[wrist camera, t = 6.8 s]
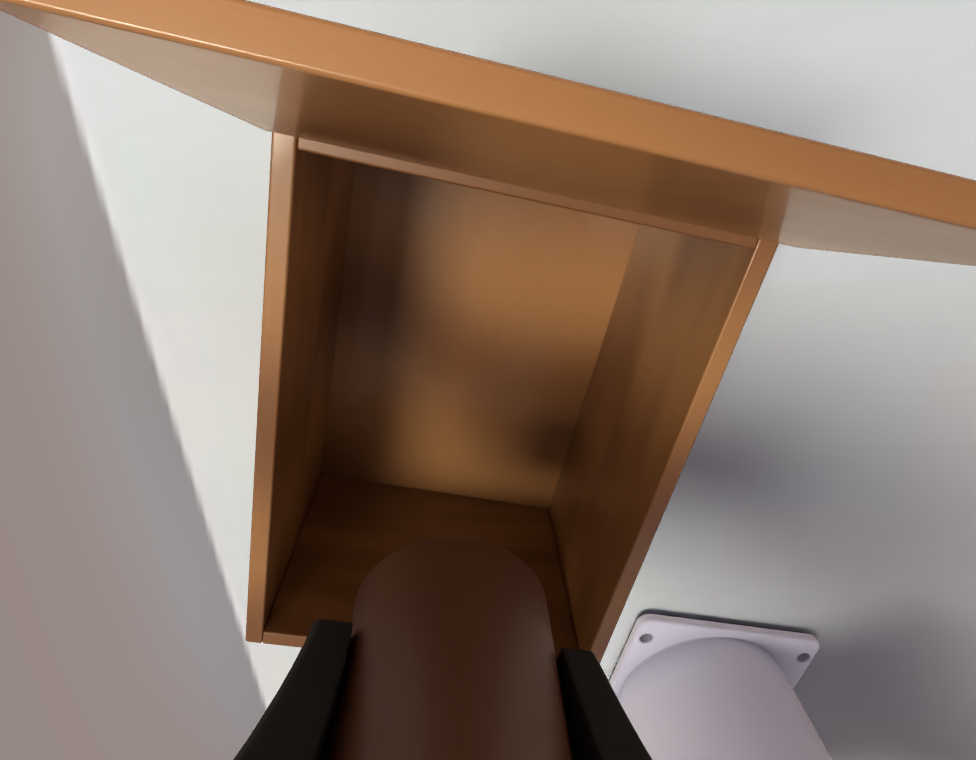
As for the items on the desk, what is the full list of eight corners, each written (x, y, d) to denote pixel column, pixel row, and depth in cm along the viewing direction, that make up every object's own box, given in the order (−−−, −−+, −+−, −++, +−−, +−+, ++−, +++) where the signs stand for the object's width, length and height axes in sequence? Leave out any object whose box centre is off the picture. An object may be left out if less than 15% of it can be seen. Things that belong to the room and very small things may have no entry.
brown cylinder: (521, 683, 13) (561, 1076, 8) (345, 664, 13) (262, 1071, 8) (568, 551, 12) (658, 936, 6) (368, 523, 11) (283, 916, 6)
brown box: (348, 108, 15) (271, 117, 9) (663, 180, 17) (785, 231, 10) (310, 475, 20) (245, 641, 14) (555, 511, 21) (593, 681, 15)
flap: (261, 130, 9) (264, 107, 9) (798, 247, 10) (804, 229, 10) (-52, -11, 3) (-55, -77, 3) (1261, 295, 4) (1283, 255, 4)
